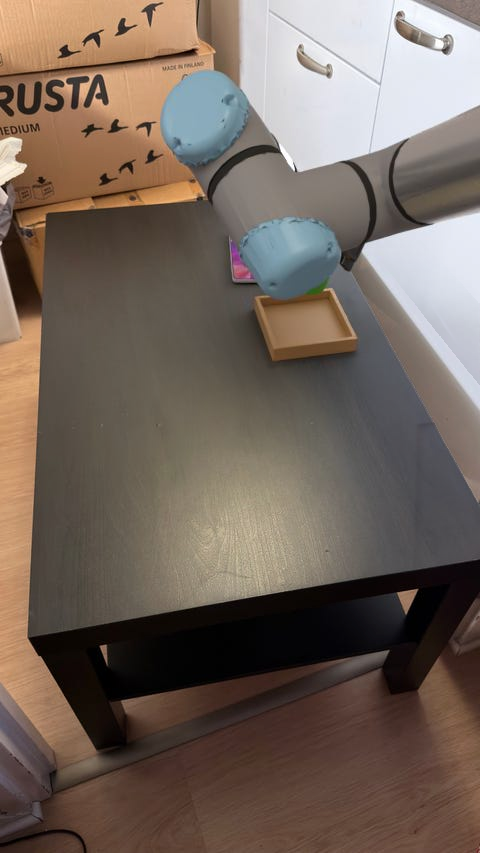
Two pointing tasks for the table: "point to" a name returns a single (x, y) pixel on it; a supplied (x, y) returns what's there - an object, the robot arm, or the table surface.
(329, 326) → the square wooden tray
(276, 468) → the table surface
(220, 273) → the table surface
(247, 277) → the smartphone
